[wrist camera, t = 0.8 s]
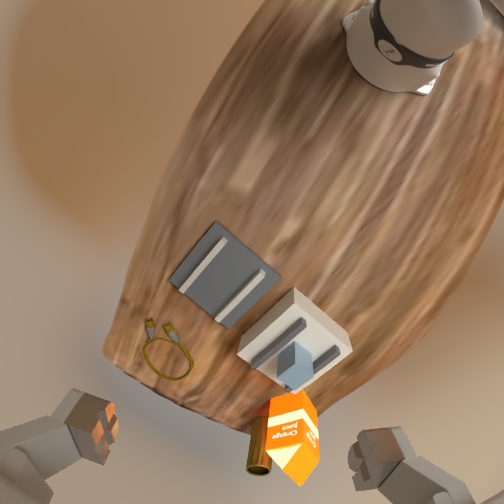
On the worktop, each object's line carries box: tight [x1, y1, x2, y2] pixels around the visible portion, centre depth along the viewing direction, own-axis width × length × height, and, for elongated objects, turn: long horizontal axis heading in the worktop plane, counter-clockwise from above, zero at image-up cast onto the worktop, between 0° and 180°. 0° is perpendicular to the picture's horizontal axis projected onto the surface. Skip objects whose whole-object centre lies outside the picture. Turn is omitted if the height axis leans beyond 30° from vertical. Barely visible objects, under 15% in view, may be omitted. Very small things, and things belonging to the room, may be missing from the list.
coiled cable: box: [144, 318, 194, 381], centre depth 56 cm, size 12×16×2 cm
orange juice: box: [265, 389, 319, 486], centre depth 48 cm, size 8×9×20 cm
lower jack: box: [169, 221, 281, 329], centre depth 49 cm, size 14×14×3 cm
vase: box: [246, 417, 272, 476], centre depth 54 cm, size 6×6×14 cm
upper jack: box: [237, 287, 353, 394], centre depth 48 cm, size 14×14×8 cm
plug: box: [277, 341, 314, 390], centre depth 43 cm, size 4×4×6 cm
